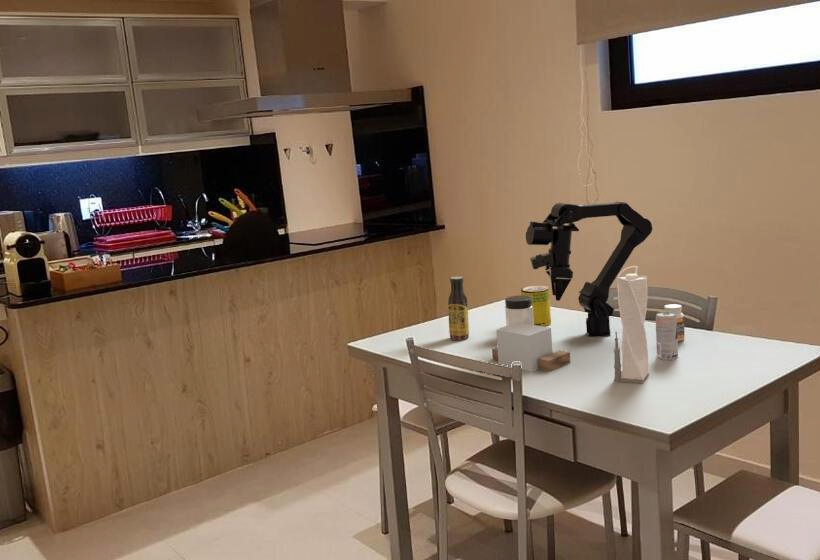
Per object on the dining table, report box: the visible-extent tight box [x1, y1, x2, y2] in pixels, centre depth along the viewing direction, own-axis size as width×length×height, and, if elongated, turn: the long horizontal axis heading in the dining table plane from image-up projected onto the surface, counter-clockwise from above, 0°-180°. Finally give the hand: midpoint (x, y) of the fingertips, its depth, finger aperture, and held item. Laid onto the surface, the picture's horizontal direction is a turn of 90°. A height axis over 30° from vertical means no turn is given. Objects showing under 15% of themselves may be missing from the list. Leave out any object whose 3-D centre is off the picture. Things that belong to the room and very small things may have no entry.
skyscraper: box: [613, 265, 650, 385], centre depth 188 cm, size 8×8×28 cm
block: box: [495, 322, 554, 372], centre depth 209 cm, size 9×12×10 cm
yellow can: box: [520, 285, 552, 327], centre depth 248 cm, size 9×9×12 cm
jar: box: [504, 294, 534, 326], centre depth 236 cm, size 9×8×12 cm
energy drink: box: [655, 311, 679, 361], centre depth 202 cm, size 5×5×12 cm
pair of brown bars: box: [491, 346, 571, 373], centre depth 211 cm, size 9×20×3 cm, turn 40°
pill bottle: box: [663, 303, 685, 342], centre depth 217 cm, size 6×6×10 cm
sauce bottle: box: [447, 276, 470, 341], centre depth 239 cm, size 6×6×20 cm
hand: (556, 297), depth 226 cm, fingers open, 9 cm apart
